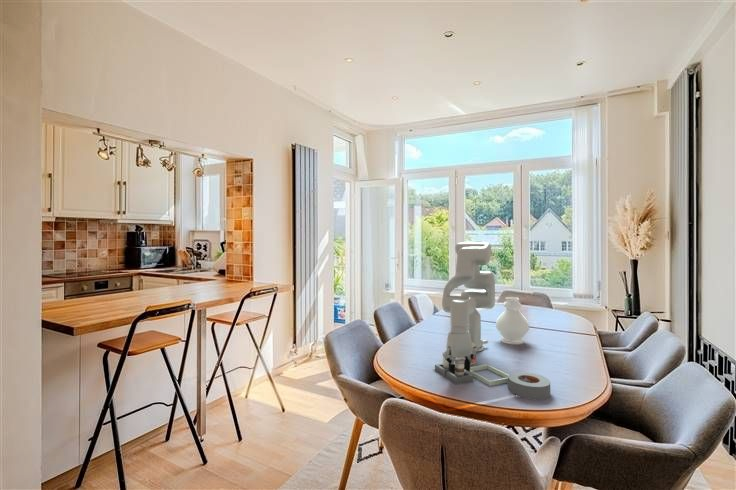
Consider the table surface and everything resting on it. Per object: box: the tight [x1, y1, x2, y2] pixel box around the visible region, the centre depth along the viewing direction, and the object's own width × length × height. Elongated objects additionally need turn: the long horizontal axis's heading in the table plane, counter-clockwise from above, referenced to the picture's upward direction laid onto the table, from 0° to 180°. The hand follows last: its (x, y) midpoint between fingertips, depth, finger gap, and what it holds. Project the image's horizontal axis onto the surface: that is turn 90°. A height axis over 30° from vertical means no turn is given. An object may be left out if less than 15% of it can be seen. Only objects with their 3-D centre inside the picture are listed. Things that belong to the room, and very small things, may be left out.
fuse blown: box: [454, 358, 465, 377], centre depth 151 cm, size 4×4×8 cm
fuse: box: [442, 351, 452, 369], centre depth 160 cm, size 4×4×8 cm
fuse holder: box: [432, 362, 476, 386], centre depth 155 cm, size 18×10×3 cm, turn 22°
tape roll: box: [507, 371, 551, 401], centre depth 141 cm, size 15×15×5 cm
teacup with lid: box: [458, 343, 477, 366], centre depth 173 cm, size 12×9×12 cm
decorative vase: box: [495, 296, 530, 345], centre depth 207 cm, size 18×18×25 cm
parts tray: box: [464, 363, 509, 387], centre depth 154 cm, size 12×16×2 cm
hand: (459, 371), depth 151 cm, fingers open, 6 cm apart
